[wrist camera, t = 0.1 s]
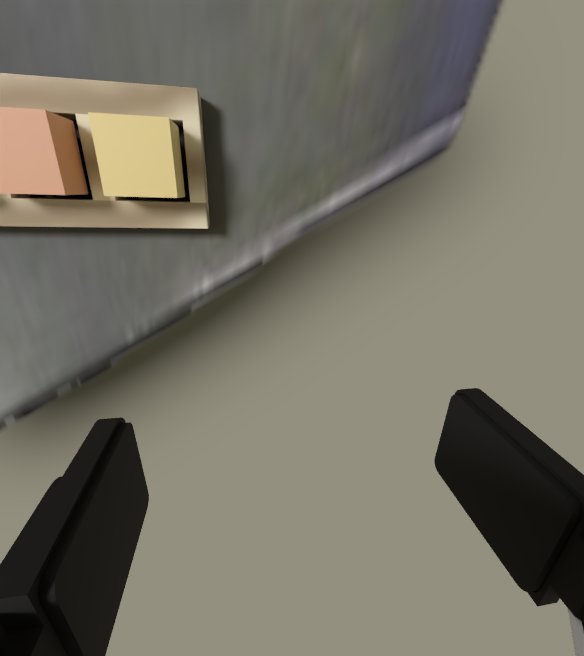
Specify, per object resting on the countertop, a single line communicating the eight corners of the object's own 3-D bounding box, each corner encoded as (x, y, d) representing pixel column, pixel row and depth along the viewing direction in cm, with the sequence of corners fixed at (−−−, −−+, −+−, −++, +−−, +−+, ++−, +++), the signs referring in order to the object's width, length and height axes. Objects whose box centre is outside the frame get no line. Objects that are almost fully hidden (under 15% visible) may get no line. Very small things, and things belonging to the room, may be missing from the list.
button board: (-143, 71, 27) (-186, 58, 24) (200, 97, 31) (197, 88, 28) (-80, 221, 31) (-110, 224, 29) (209, 225, 36) (207, 228, 33)
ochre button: (109, 123, 29) (87, 112, 24) (178, 127, 29) (168, 117, 25) (121, 195, 31) (104, 196, 27) (185, 196, 32) (177, 197, 28)
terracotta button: (-3, 116, 27) (-46, 103, 23) (73, 121, 28) (45, 109, 24) (19, 192, 30) (-16, 192, 25) (88, 194, 30) (65, 195, 26)
